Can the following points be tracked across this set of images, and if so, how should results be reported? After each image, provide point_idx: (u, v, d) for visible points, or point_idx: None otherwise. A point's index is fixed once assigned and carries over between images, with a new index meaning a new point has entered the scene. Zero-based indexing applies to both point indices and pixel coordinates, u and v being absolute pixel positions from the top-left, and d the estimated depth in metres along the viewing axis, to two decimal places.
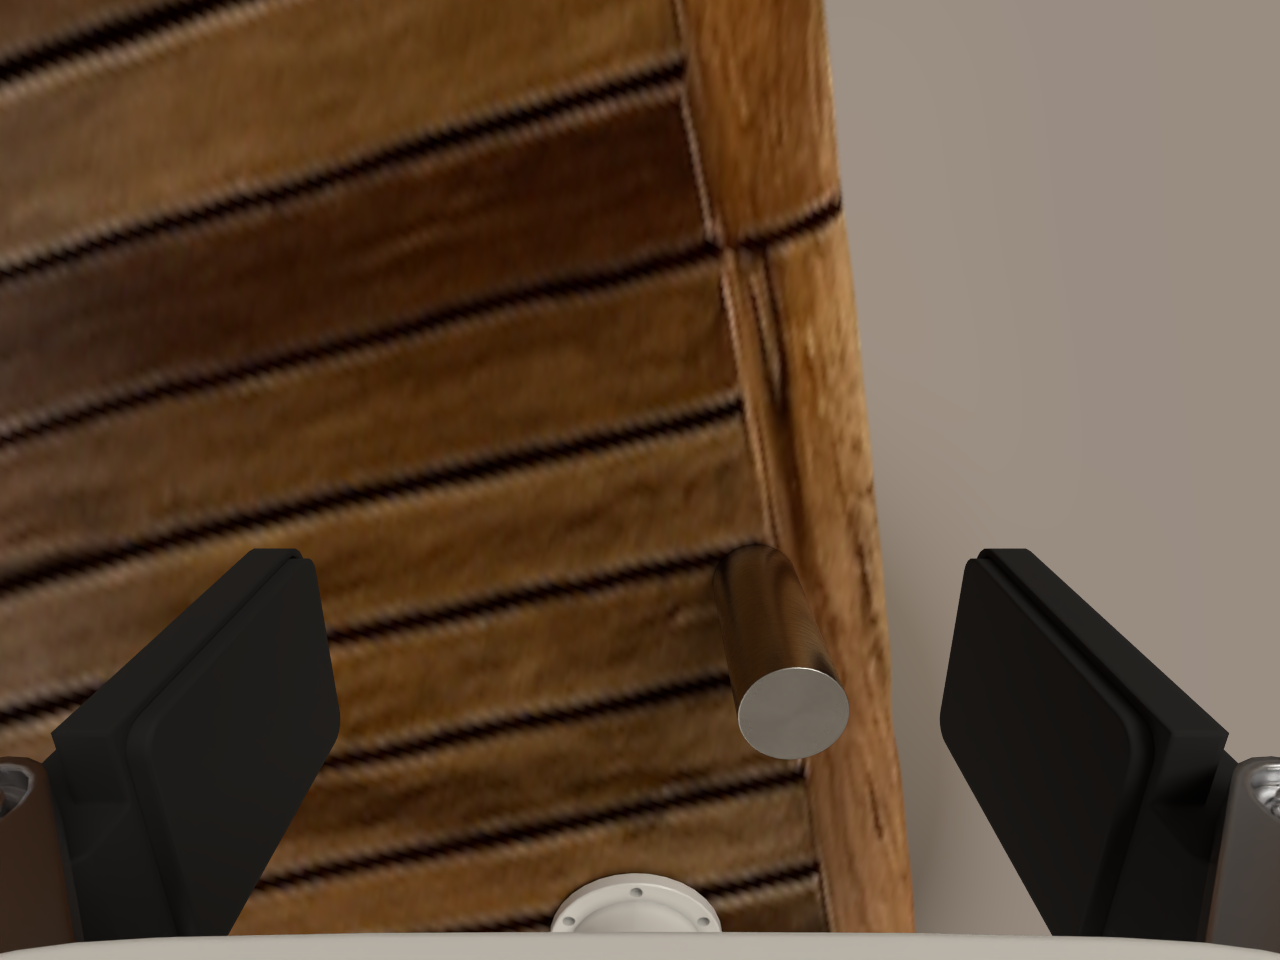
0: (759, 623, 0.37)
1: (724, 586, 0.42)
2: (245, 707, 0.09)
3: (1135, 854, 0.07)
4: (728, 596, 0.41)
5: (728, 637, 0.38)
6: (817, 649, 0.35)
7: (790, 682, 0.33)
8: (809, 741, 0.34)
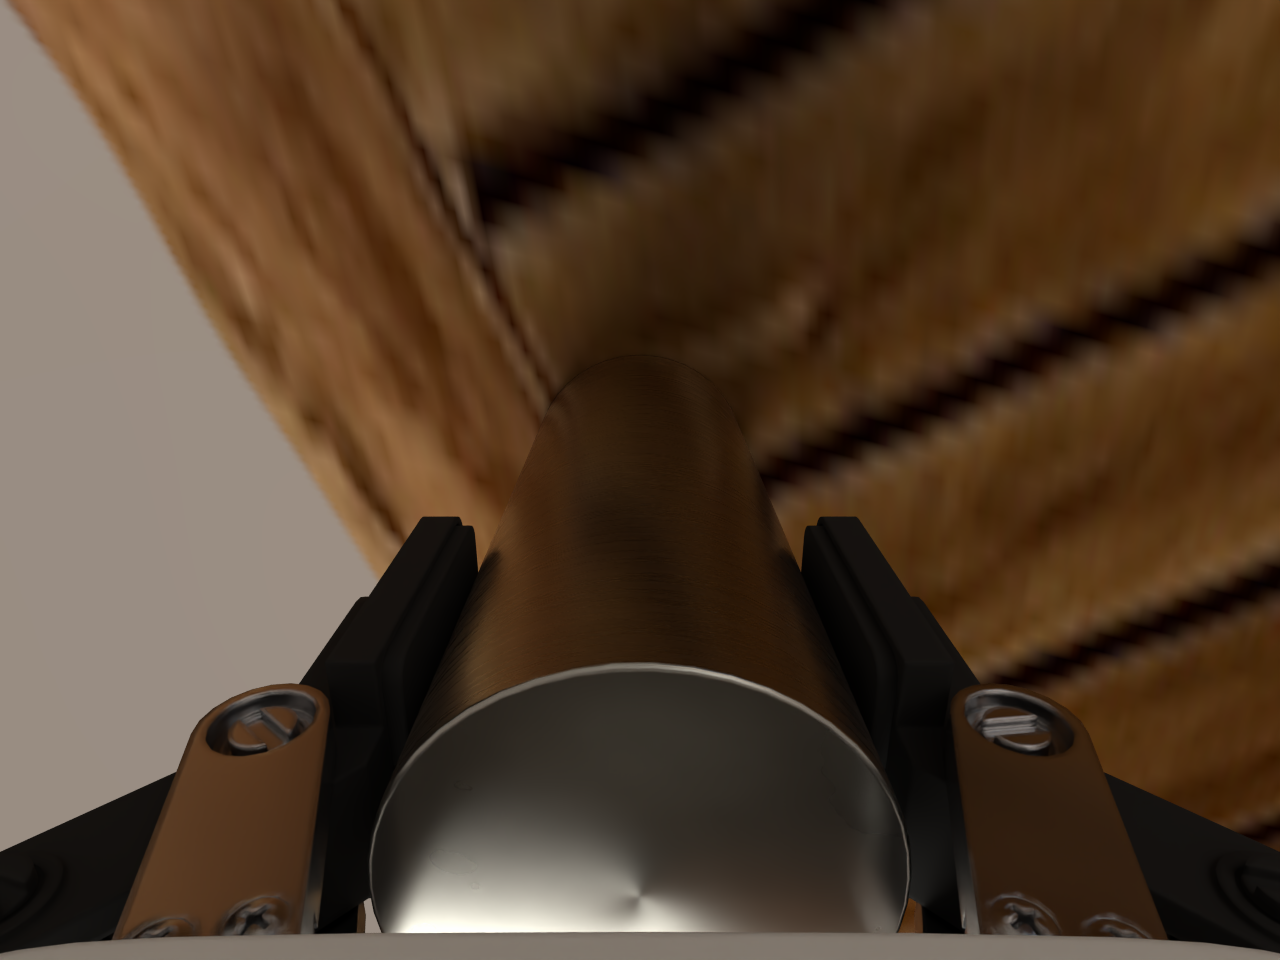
0: None
1: None
2: (443, 653, 0.10)
3: (889, 773, 0.08)
4: None
5: None
6: None
7: None
8: (505, 790, 0.07)
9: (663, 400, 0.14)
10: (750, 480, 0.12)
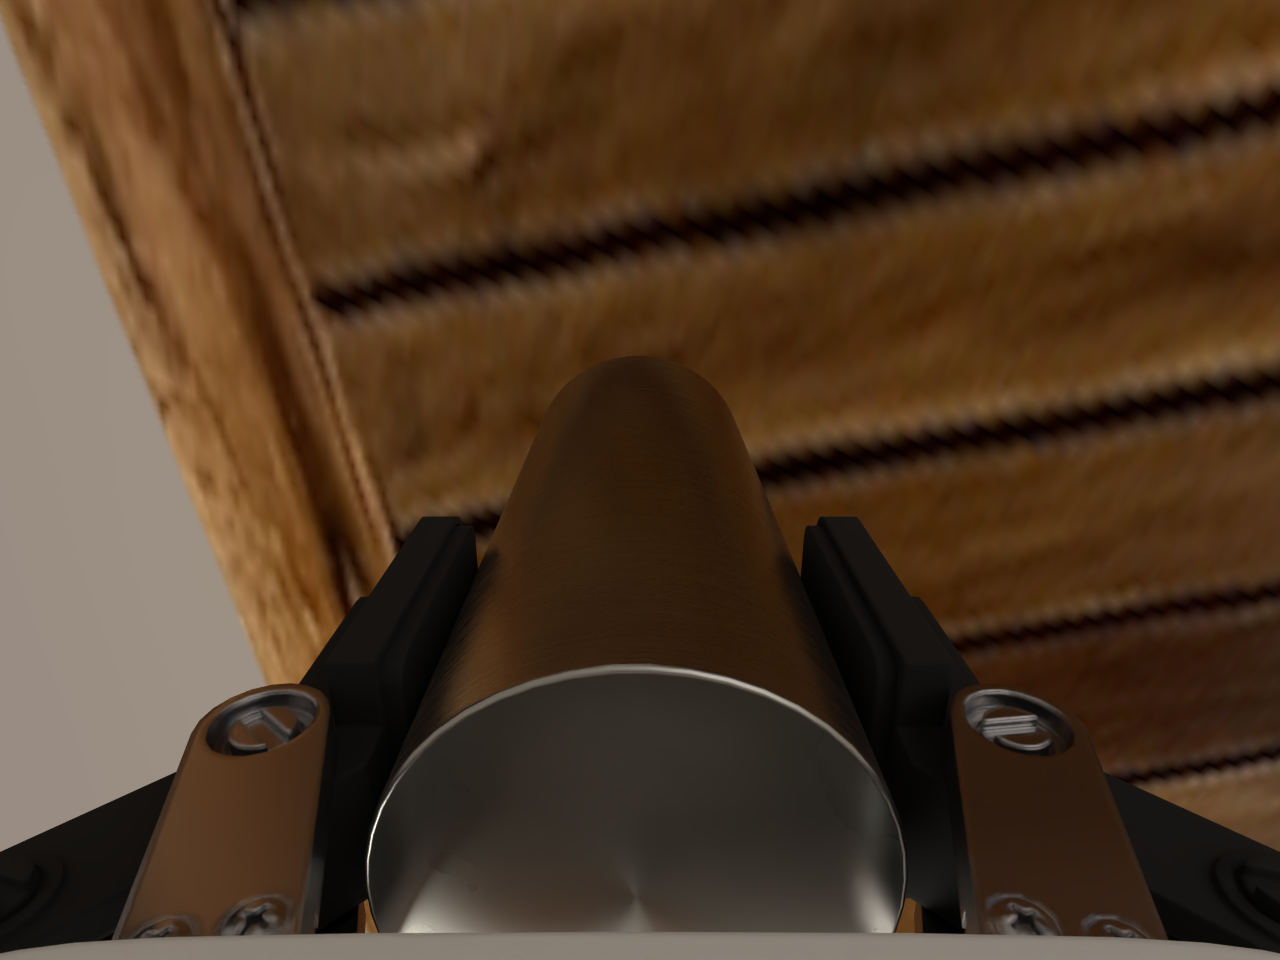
0: None
1: None
2: None
3: (889, 774, 0.08)
4: None
5: None
6: None
7: None
8: (502, 791, 0.07)
9: (662, 402, 0.14)
10: (748, 481, 0.12)
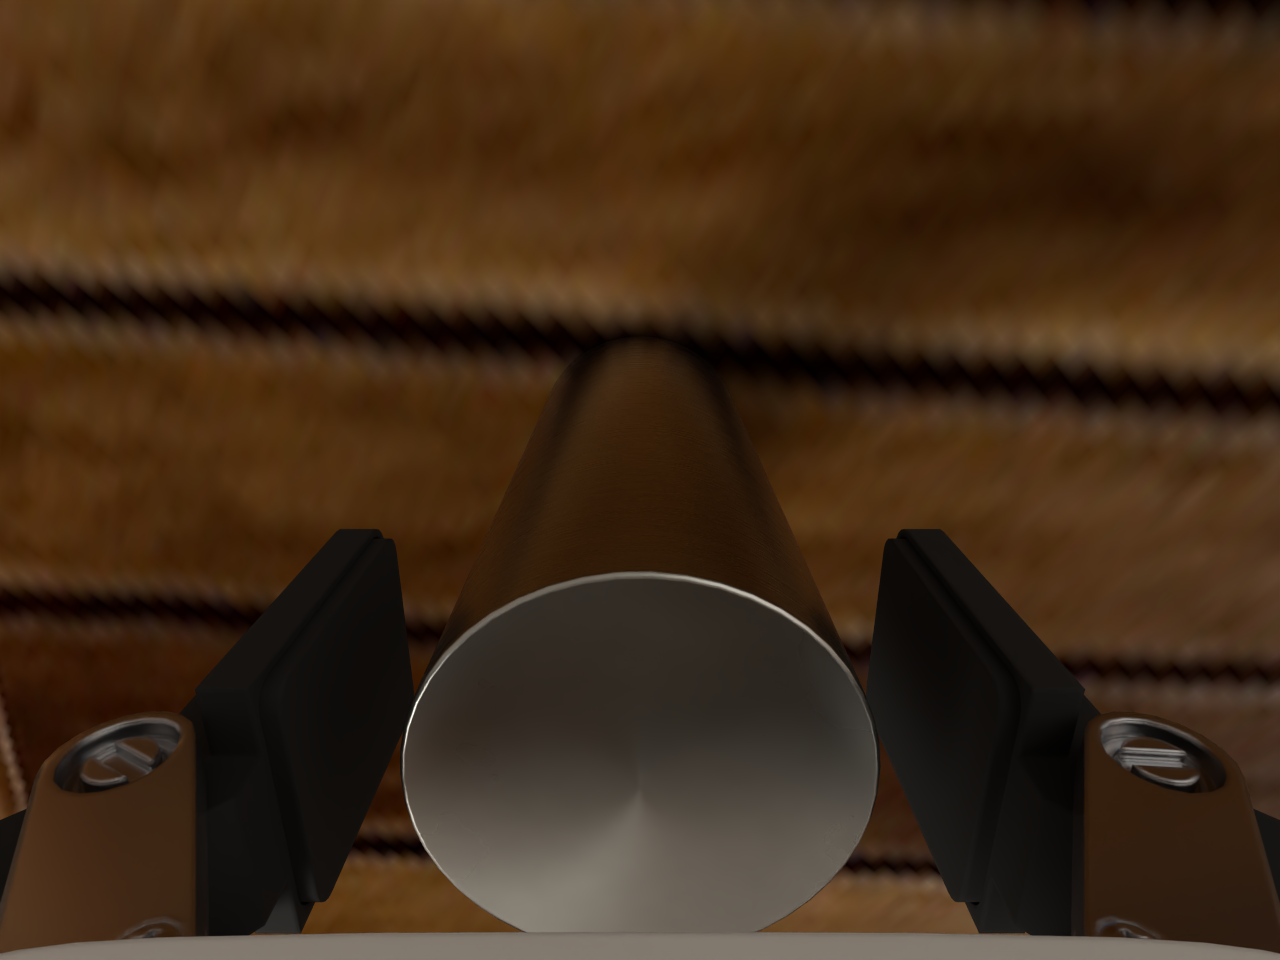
0: None
1: None
2: (346, 674, 0.09)
3: (1008, 804, 0.08)
4: None
5: None
6: None
7: (701, 902, 0.08)
8: (522, 687, 0.07)
9: (662, 373, 0.15)
10: (742, 443, 0.13)
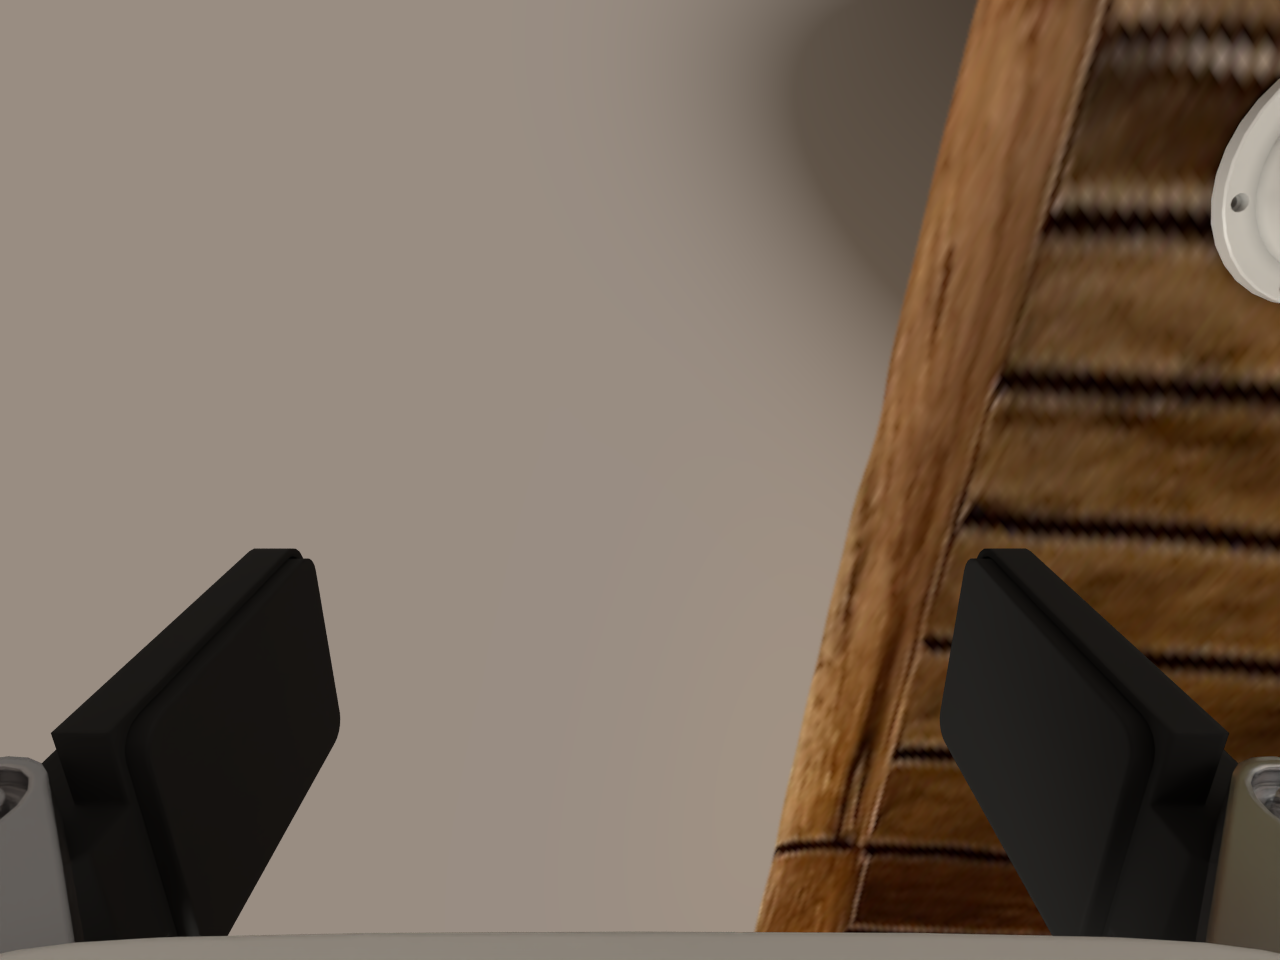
0: None
1: None
2: (245, 707, 0.09)
3: (1135, 854, 0.07)
4: None
5: None
6: None
7: None
8: None
9: None
10: None
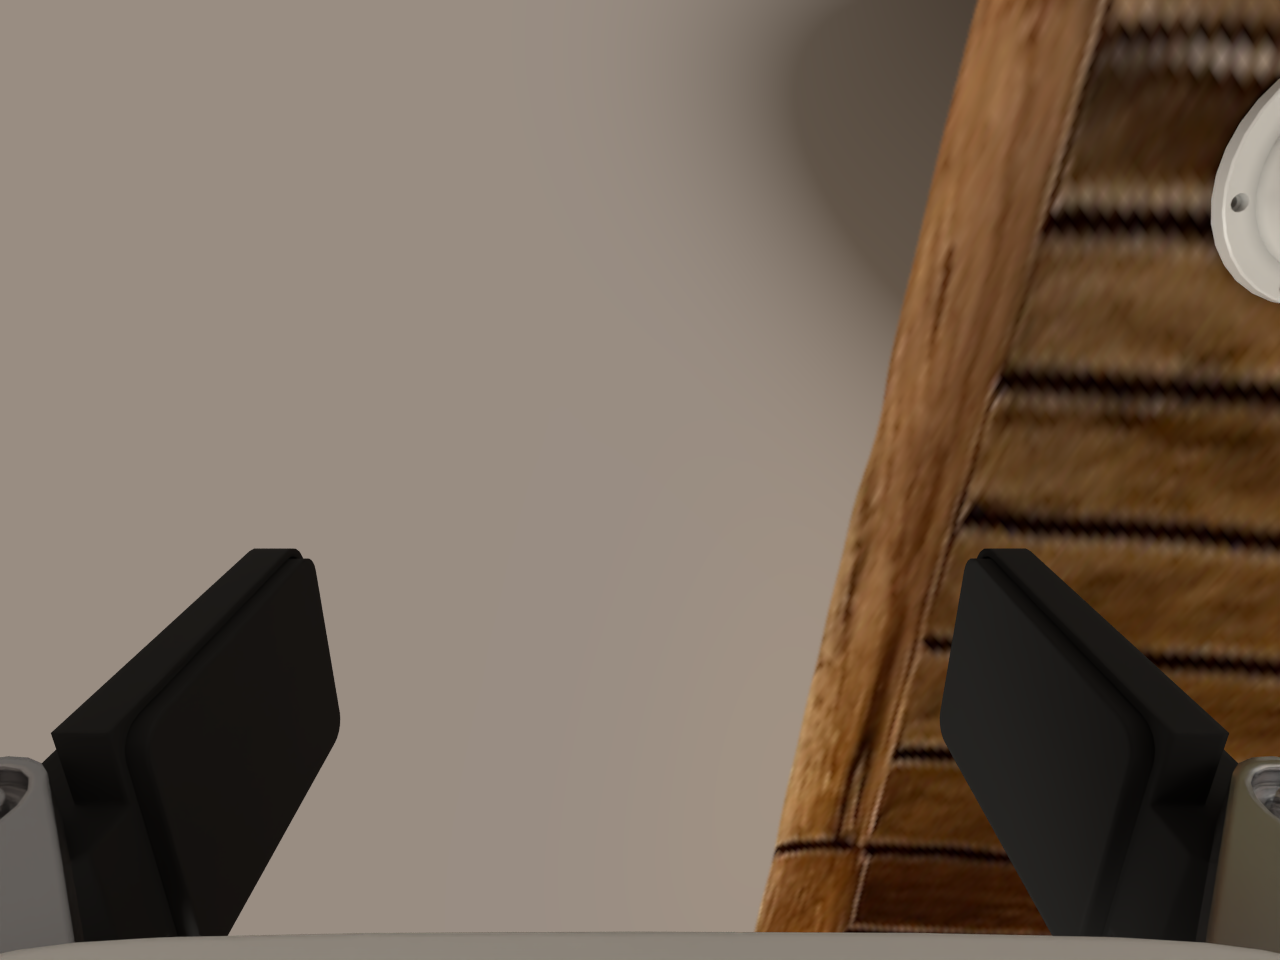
0: None
1: None
2: (245, 707, 0.09)
3: (1135, 854, 0.07)
4: None
5: None
6: None
7: None
8: None
9: None
10: None
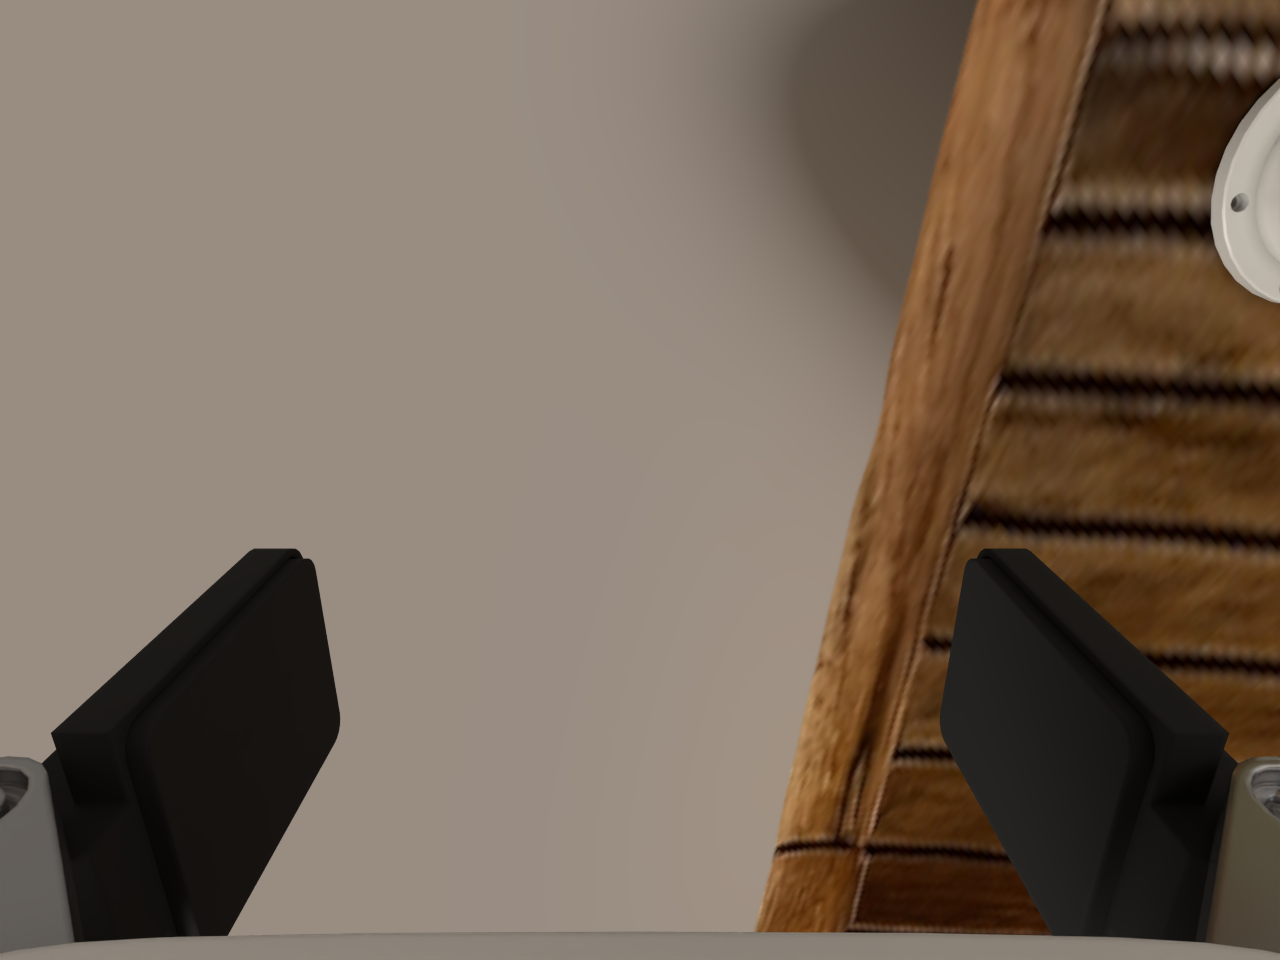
0: None
1: None
2: (245, 707, 0.09)
3: (1135, 854, 0.07)
4: None
5: None
6: None
7: None
8: None
9: None
10: None
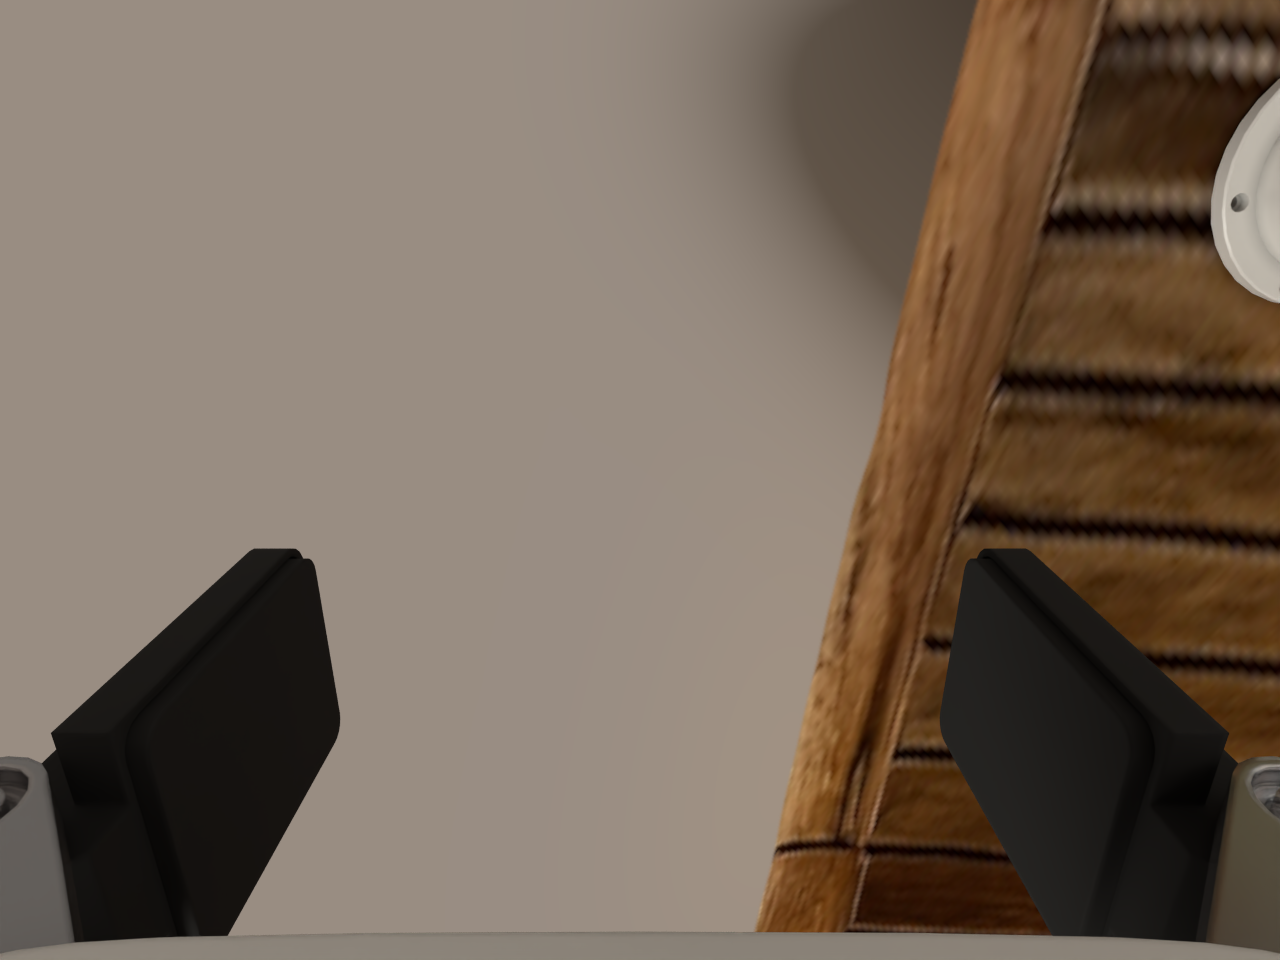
0: None
1: None
2: (245, 707, 0.09)
3: (1135, 854, 0.07)
4: None
5: None
6: None
7: None
8: None
9: None
10: None
